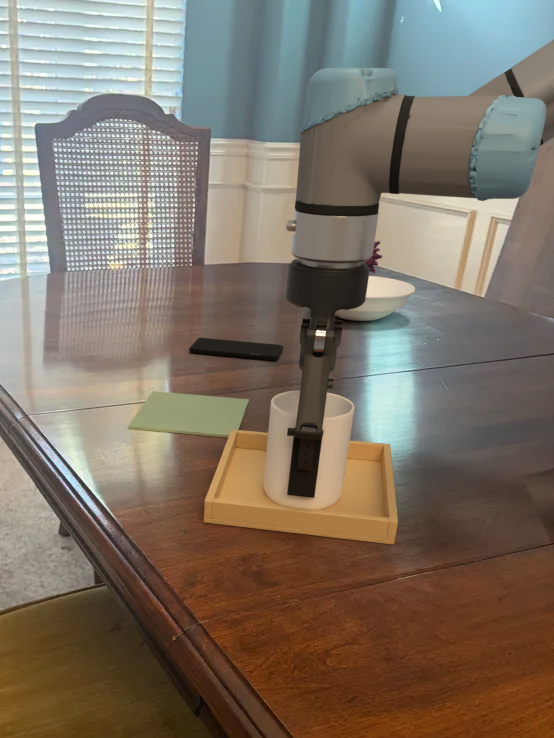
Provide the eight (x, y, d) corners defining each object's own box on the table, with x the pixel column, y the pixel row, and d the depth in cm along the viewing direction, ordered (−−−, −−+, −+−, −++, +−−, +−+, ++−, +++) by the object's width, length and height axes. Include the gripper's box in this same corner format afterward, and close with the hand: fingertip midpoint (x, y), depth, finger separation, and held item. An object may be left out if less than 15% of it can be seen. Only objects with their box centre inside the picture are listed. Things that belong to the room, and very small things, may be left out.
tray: (386, 463, 91) (390, 443, 89) (393, 544, 74) (398, 522, 73) (230, 448, 94) (231, 429, 93) (203, 522, 78) (204, 500, 76)
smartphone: (277, 356, 125) (188, 348, 129) (277, 361, 125) (187, 353, 129) (284, 344, 130) (198, 337, 134) (283, 349, 131) (198, 341, 135)
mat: (248, 401, 109) (249, 399, 109) (235, 438, 97) (236, 435, 97) (152, 393, 111) (152, 391, 111) (128, 428, 100) (128, 425, 99)
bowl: (346, 336, 139) (351, 300, 136) (286, 311, 155) (289, 279, 152) (431, 325, 146) (438, 291, 143) (366, 303, 162) (370, 271, 159)
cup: (259, 506, 80) (267, 414, 75) (269, 461, 90) (277, 376, 85) (341, 515, 78) (355, 421, 73) (341, 468, 88) (354, 382, 83)
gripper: (297, 238, 83) (279, 424, 94) (278, 284, 62) (257, 516, 73) (368, 241, 82) (341, 429, 93) (373, 290, 61) (337, 525, 72)
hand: (304, 468), depth 83 cm, fingers open, 12 cm apart
